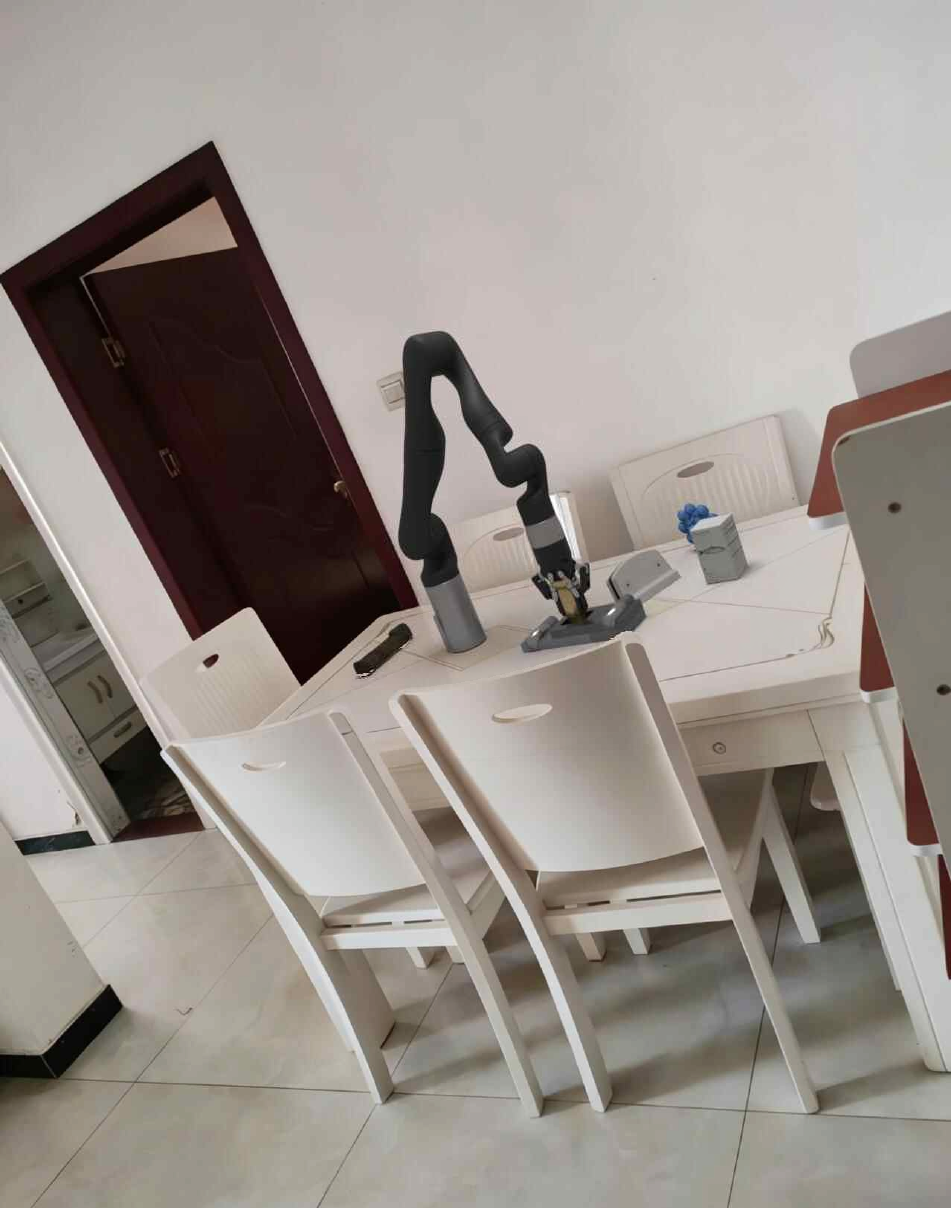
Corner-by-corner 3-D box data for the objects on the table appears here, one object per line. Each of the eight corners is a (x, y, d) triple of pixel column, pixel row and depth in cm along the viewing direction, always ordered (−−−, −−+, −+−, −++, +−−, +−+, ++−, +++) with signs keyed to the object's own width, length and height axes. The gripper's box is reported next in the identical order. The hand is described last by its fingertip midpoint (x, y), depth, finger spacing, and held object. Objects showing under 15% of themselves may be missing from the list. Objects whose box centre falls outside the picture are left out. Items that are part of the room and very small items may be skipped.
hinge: (633, 609, 206) (608, 570, 206) (622, 615, 210) (597, 577, 210) (682, 576, 214) (658, 539, 214) (670, 583, 218) (646, 546, 218)
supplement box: (706, 585, 202) (687, 531, 199) (718, 571, 208) (700, 518, 205) (738, 580, 198) (720, 524, 195) (749, 566, 203) (732, 511, 200)
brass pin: (565, 635, 202) (546, 584, 199) (576, 624, 206) (557, 575, 203) (586, 632, 199) (566, 580, 196) (596, 621, 203) (577, 570, 200)
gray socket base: (522, 653, 206) (513, 631, 205) (545, 631, 215) (536, 609, 213) (626, 638, 191) (618, 613, 189) (647, 614, 199) (638, 591, 198)
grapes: (678, 559, 227) (662, 513, 224) (692, 548, 231) (676, 502, 228) (721, 553, 219) (705, 505, 216) (734, 542, 223) (718, 495, 220)
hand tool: (370, 677, 234) (362, 657, 232) (357, 679, 237) (348, 659, 235) (422, 636, 251) (415, 618, 249) (409, 638, 254) (401, 620, 252)
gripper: (511, 552, 199) (539, 625, 203) (568, 539, 190) (596, 616, 194) (528, 539, 204) (555, 610, 209) (584, 526, 196) (611, 600, 200)
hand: (575, 612), depth 201 cm, fingers closed on brass pin, 4 cm apart
